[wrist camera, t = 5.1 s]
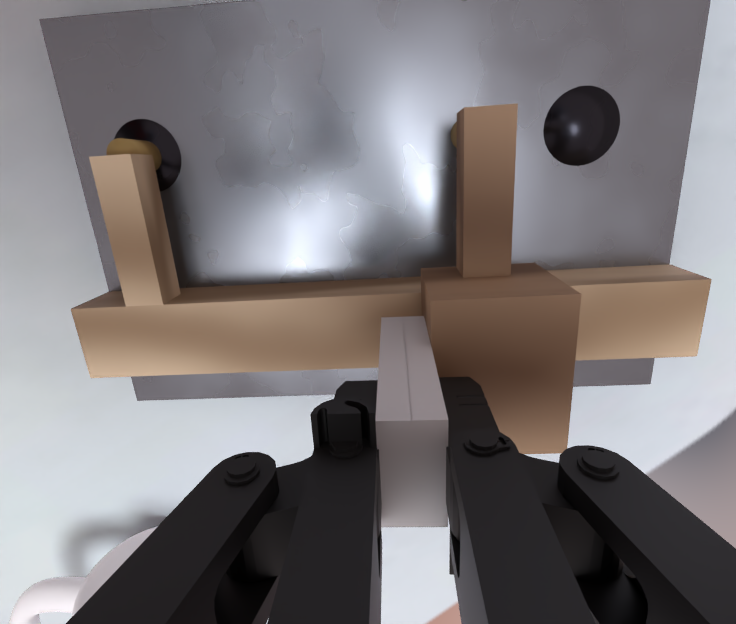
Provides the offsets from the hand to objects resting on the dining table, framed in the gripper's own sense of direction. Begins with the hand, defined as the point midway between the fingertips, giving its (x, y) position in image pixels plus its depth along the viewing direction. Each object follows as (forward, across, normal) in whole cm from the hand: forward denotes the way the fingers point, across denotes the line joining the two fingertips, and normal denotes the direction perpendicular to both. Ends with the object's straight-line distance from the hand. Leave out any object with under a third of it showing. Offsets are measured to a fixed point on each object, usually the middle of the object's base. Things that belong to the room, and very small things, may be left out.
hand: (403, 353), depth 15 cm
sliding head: (+4, +3, +3) cm, 5 cm away
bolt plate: (+5, -1, +4) cm, 7 cm away
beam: (+4, -1, +3) cm, 5 cm away
